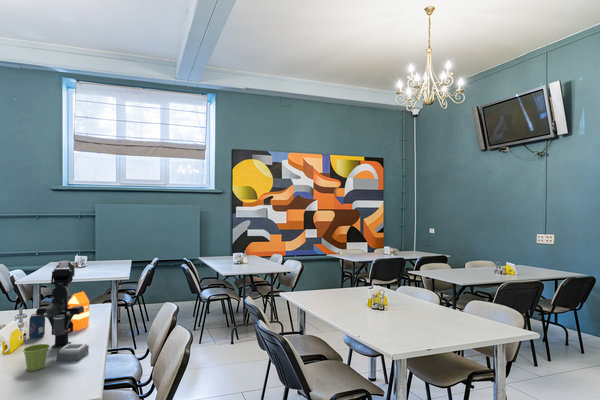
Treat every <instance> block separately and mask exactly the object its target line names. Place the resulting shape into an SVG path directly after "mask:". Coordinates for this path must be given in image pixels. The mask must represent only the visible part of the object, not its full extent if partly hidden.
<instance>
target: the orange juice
mask: <svg viewBox="0 0 600 400" xmlns="http://www.w3.org/2000/svg"><path fill="white" fill-rule="evenodd" d="M68 305H69V307H68V308H72V307H74V306H83V307H84V312H82V313H80V314H77V315H74V316H73V317H72V319H71V320H72V322H73V331H80V330H82V329H84V327H85V328H87V327H88V326H89V325H90V324H89V323H90V321H89V320H90V300H89V298H88V296H87V295H86V293H85V291H81V292H77V293H74V294H72V296H71V297H70V298H69V299H68ZM86 326H87V327H86Z"/></svg>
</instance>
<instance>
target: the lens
mask: <svg viewBox="0 0 600 400" xmlns="http://www.w3.org/2000/svg"><path fill="white" fill-rule="evenodd" d="M65 333H66V329H65V315H57V316H54V325H53V335H52V336H55V335H63V334H65Z"/></svg>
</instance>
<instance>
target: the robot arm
mask: <svg viewBox="0 0 600 400" xmlns="http://www.w3.org/2000/svg"><path fill="white" fill-rule="evenodd" d="M75 271H76V269H75V265H74V264H73V263H71V260H60V261H58V265H56V266H55V268H54V269H53V270H52V271H51V280H50V284H51V285H53V289H52V292H51V296H52V297H53V298H52V299H51V303H49V305H45V306H41V307H38V308H37V309H36V311H35V314H36V315H43V314H44V317H45V318H46V319H48V322H49V323H50V326H51V336H54V344H52V345H51V348H63V347H64V346H66V345H67V344H72V341H69V335H70V334H71V333H73V332H74V330H73V322H72V320H71V319H72V317H73V316H74V315H77V314H80V313H82V312H84V307H83V306H74V307H72V308H68V307H69V305H68V302H69V300H70V295H69V292H70V289H69V288H70V285H71V283H72V282H73V280H74V279H73V278H74V277H75V274H76V272H75ZM57 315H65V329H66V333H65V334H63V335H53V325H54V316H57Z"/></svg>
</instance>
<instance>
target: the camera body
mask: <svg viewBox="0 0 600 400" xmlns="http://www.w3.org/2000/svg"><path fill="white" fill-rule="evenodd" d="M89 346H90V345H88V344H87V343H70V344H67V345H66V346H64V347H61V348H60V349H59V351H58V352H57V353H56V359H55V360H56V363H62V362H63V363H66V362H69V363H70V362H71V363H72V362H79V361H80V360H81V359H83V358H84V357H85V356H86V355H87V354H88V353H89V349H90V347H89Z"/></svg>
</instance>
